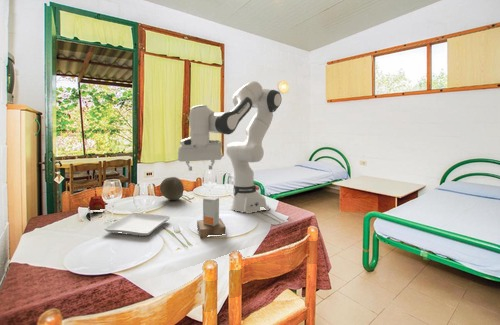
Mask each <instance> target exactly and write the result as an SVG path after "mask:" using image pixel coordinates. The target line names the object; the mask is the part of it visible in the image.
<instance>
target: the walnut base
mask: <svg viewBox="0 0 500 325" xmlns="http://www.w3.org/2000/svg"><path fill="white" fill-rule="evenodd" d="M196 227H197V228H198V229H197V228H196V229H197V232H198V231H199V233H198V236H199V238H200V239H207V238H210V237H207V236H208V235H222V234H226V231H227V230H226V229H227V228H226V225H225V223H224V222H223V220H222V219H221V218H220V217H219V223H218V224H217V225H215V226H212V225H207V224H203V219H199V220H196Z"/></svg>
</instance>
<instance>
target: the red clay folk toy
mask: <svg viewBox="0 0 500 325" xmlns="http://www.w3.org/2000/svg"><path fill="white" fill-rule="evenodd" d="M96 187H97V185H96V184H93V187H91V186H90V190H93V189H94V196H91V197H90V199H89V202H88V209H90V210H100V209H106V203H105V202H106V201H105V200H104V198H102V197H103V196H102V195H97V190H96ZM103 200H104V201H103ZM90 210H89V211H90Z"/></svg>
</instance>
